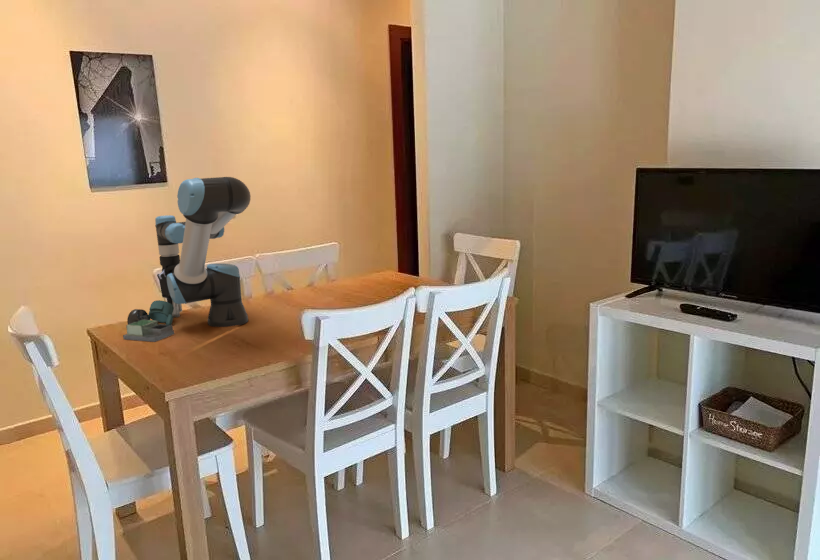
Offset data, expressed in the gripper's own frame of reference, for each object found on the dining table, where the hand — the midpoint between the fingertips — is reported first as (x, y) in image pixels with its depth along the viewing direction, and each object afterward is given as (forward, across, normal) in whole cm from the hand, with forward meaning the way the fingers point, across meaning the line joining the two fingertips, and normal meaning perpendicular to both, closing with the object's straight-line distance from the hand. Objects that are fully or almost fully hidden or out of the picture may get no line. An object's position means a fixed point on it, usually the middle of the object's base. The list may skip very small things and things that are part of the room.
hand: (175, 312), depth 257 cm
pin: (+2, 0, 0) cm, 2 cm away
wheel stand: (+2, +20, +1) cm, 21 cm away
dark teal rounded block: (0, +5, 0) cm, 5 cm away
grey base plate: (+2, +25, +10) cm, 27 cm away
